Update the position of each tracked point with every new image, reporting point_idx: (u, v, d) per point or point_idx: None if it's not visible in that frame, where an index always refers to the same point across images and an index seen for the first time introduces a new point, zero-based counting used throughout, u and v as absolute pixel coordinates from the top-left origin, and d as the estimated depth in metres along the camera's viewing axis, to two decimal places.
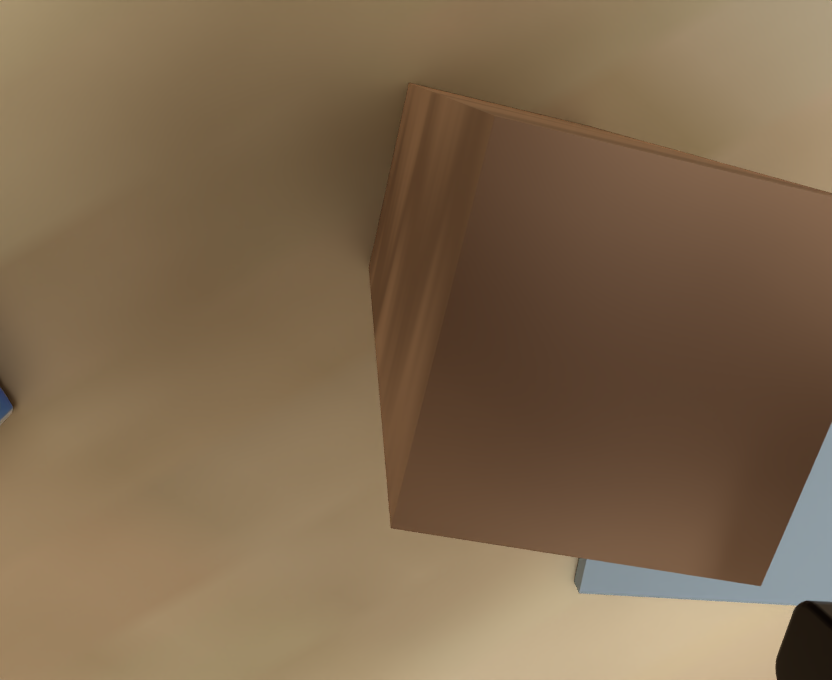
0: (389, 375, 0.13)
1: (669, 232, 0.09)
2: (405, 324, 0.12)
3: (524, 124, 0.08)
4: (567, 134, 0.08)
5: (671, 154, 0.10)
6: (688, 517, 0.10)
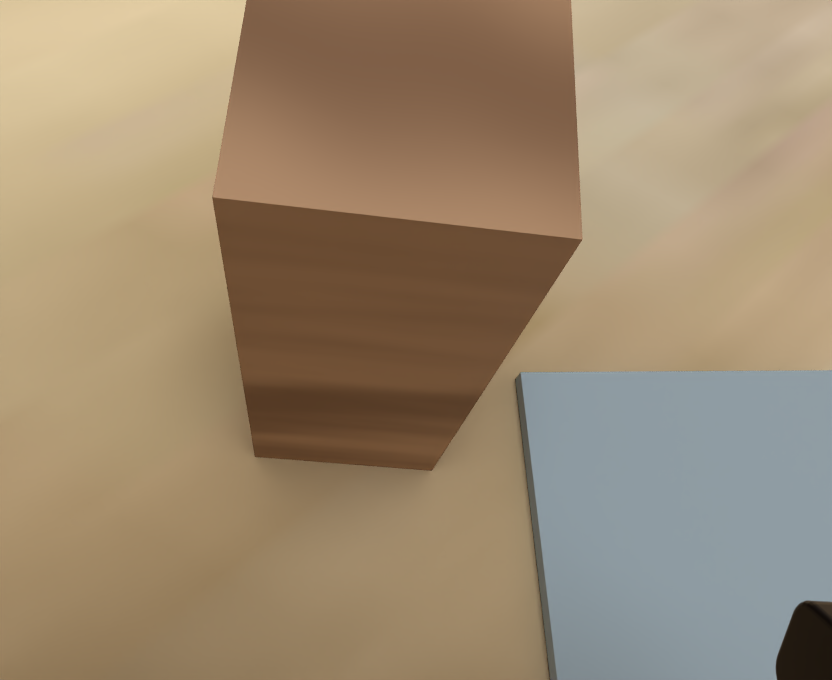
0: None
1: None
2: None
3: None
4: None
5: None
6: (488, 178, 0.11)
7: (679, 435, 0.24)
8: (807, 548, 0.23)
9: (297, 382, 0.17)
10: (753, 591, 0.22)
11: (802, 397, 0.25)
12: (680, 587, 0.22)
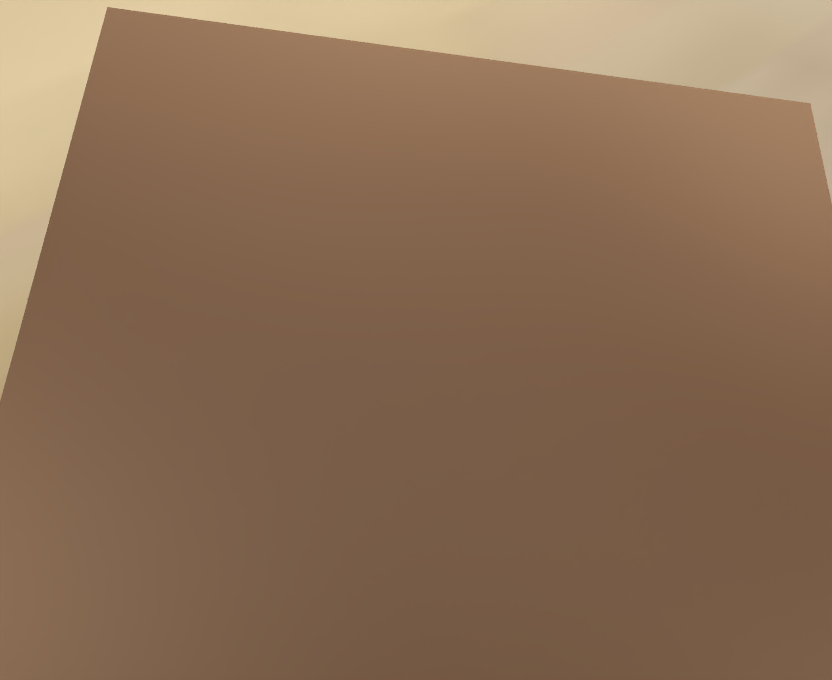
0: None
1: (432, 140, 0.05)
2: None
3: (159, 21, 0.05)
4: None
5: None
6: None
7: None
8: None
9: None
10: None
11: None
12: None
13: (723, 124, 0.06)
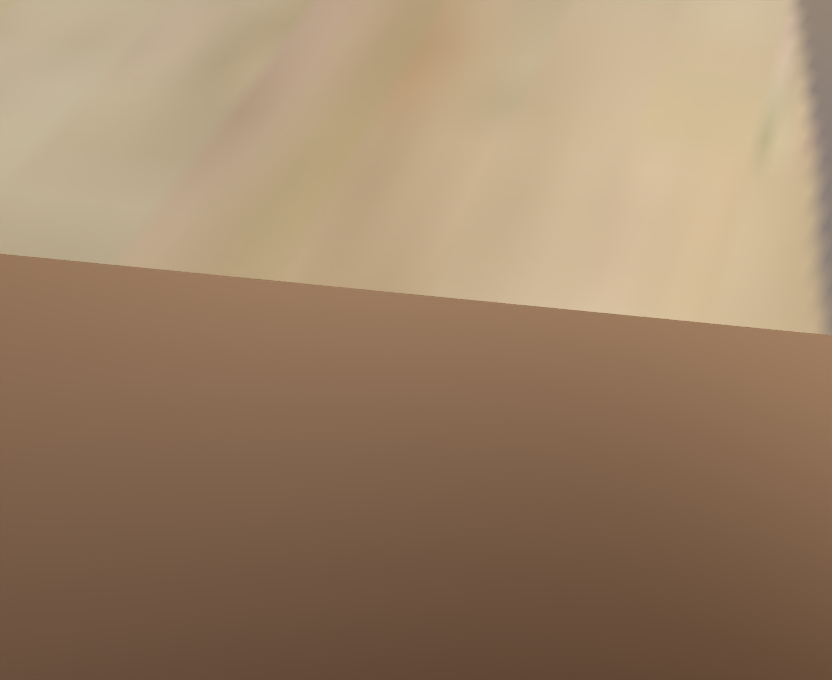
0: None
1: (392, 436, 0.04)
2: None
3: (13, 262, 0.04)
4: (108, 265, 0.04)
5: None
6: None
7: None
8: None
9: None
10: None
11: None
12: None
13: (794, 384, 0.04)
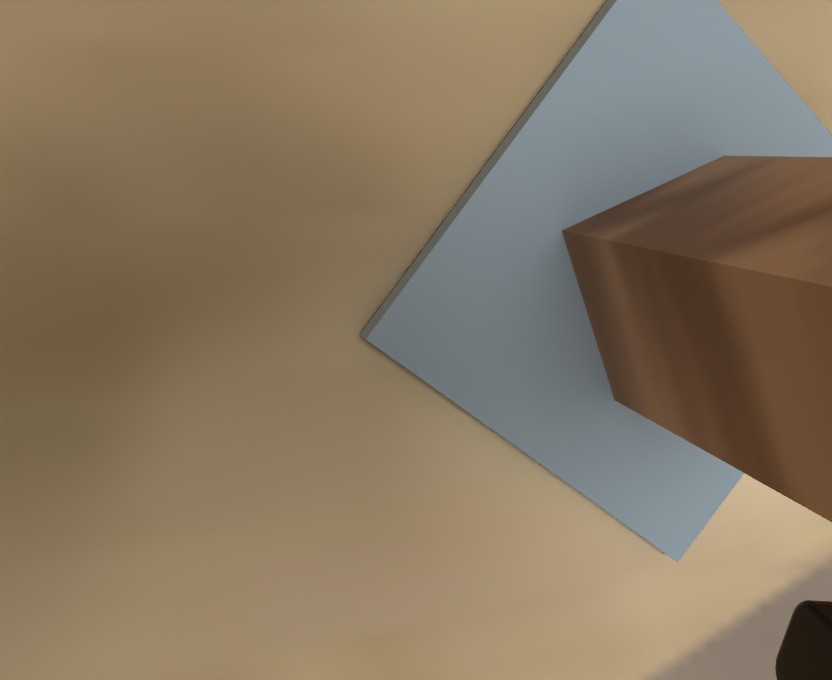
0: None
1: None
2: None
3: None
4: None
5: None
6: None
7: (729, 131, 0.21)
8: None
9: (739, 321, 0.15)
10: None
11: None
12: None
13: None
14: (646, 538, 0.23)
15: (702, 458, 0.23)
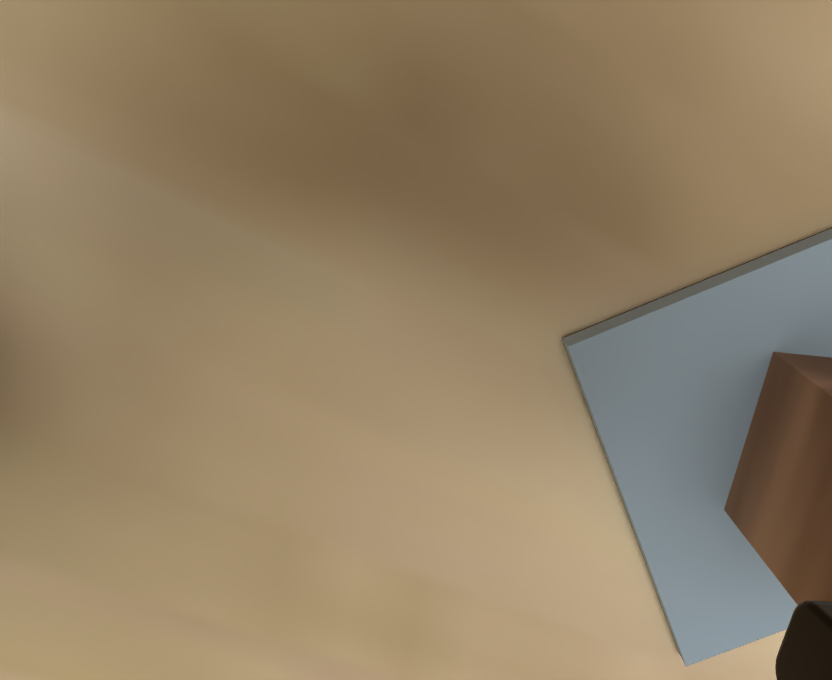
0: None
1: None
2: None
3: None
4: None
5: None
6: None
7: None
8: None
9: None
10: None
11: None
12: None
13: None
14: (675, 632, 0.25)
15: (761, 597, 0.24)
